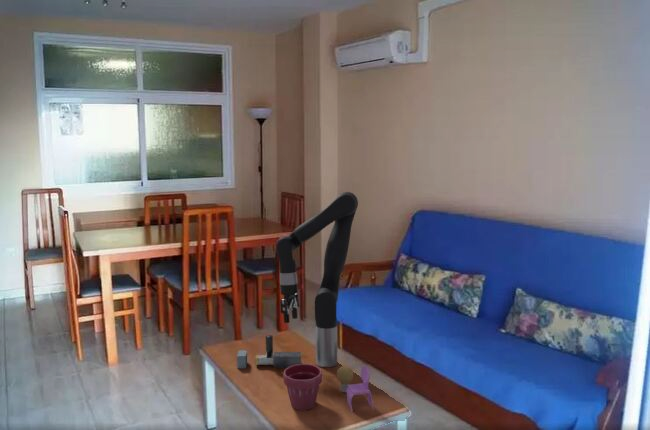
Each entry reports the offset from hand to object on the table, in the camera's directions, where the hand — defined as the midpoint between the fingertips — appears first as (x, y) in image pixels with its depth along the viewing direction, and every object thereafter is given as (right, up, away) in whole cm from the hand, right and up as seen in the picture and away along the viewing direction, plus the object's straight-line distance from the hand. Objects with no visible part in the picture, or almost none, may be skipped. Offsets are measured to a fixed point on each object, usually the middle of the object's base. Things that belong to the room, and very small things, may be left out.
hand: (291, 320), depth 237 cm
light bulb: (+22, -23, -22) cm, 39 cm away
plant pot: (+6, -25, -32) cm, 41 cm away
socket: (-22, -20, +1) cm, 29 cm away
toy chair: (+27, -25, -34) cm, 50 cm away
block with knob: (-6, -19, +1) cm, 19 cm away
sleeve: (-2, -20, +1) cm, 20 cm away
